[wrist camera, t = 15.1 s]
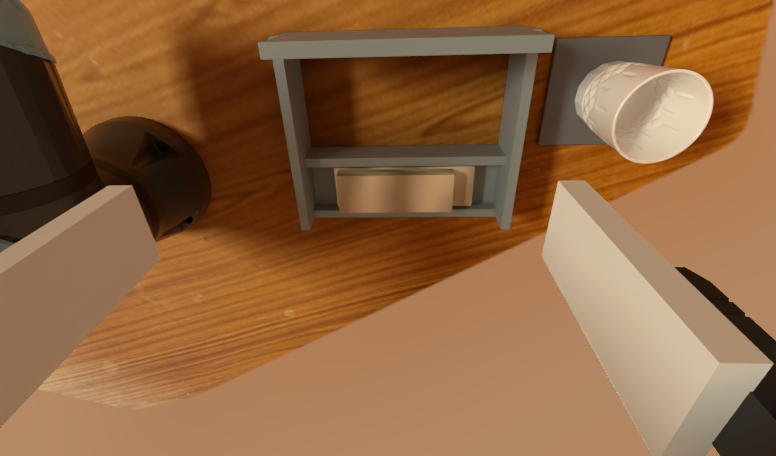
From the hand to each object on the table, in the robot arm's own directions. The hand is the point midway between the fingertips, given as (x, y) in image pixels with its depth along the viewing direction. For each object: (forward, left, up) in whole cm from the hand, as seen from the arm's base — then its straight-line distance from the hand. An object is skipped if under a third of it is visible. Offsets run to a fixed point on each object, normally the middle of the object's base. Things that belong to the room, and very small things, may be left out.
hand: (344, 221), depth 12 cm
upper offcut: (+1, -13, -30) cm, 32 cm away
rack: (+2, -6, -33) cm, 33 cm away
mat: (+23, -3, -33) cm, 40 cm away
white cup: (+24, -3, -32) cm, 40 cm away
